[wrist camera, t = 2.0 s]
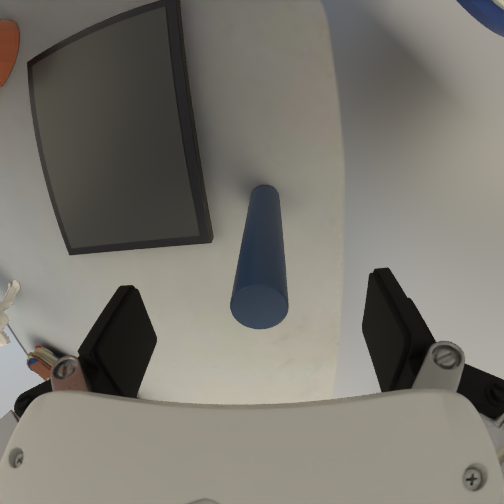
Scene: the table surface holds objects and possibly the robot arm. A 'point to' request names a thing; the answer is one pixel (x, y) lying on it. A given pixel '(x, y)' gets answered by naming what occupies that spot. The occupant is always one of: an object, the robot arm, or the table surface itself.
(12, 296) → the toy robot
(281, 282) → the stylus
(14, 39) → the pen cup
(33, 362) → the pencil case
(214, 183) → the table surface
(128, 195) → the tablet
